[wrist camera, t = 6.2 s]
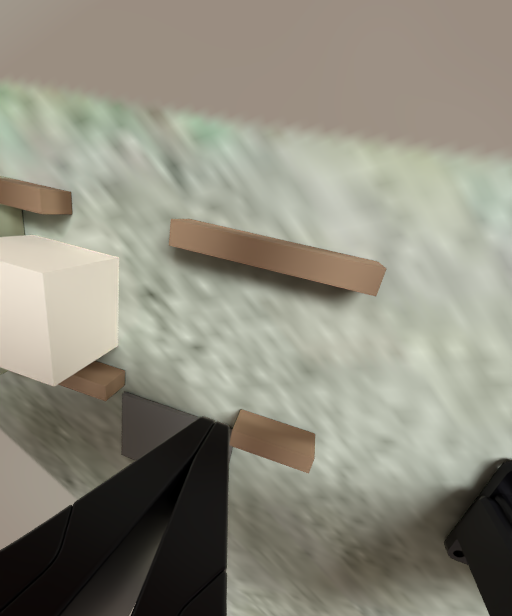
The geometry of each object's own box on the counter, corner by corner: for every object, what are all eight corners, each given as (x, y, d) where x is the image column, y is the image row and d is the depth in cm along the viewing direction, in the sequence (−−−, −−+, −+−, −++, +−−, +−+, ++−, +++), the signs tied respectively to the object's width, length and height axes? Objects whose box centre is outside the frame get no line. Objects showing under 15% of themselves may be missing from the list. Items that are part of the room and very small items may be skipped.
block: (121, 257, 13) (42, 273, 9) (119, 344, 15) (54, 386, 11) (36, 234, 14) (-68, 241, 10) (44, 320, 16) (-40, 352, 12)
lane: (378, 261, 10) (394, 274, 8) (309, 448, 14) (307, 493, 12) (1, 176, 13) (-68, 167, 11) (25, 351, 17) (-22, 372, 14)
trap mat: (236, 430, 15) (235, 432, 15) (223, 490, 17) (222, 493, 16) (124, 391, 16) (122, 393, 16) (123, 452, 18) (121, 454, 17)
